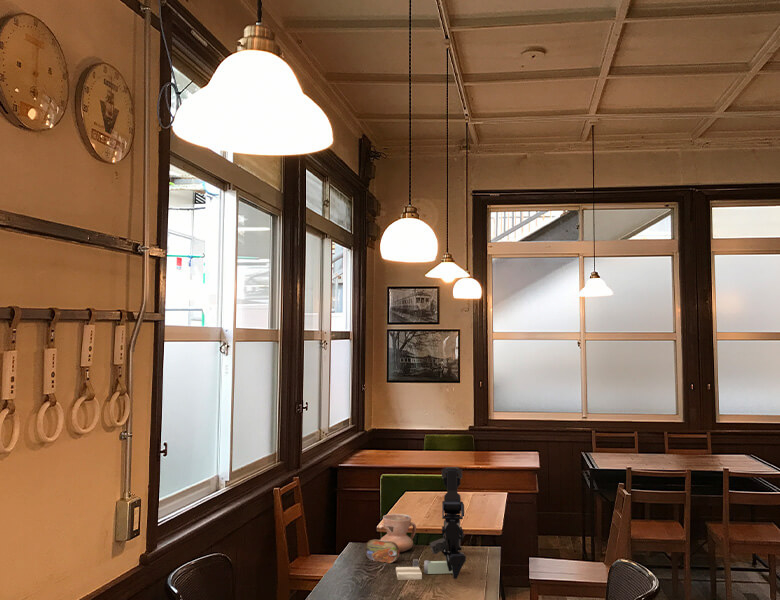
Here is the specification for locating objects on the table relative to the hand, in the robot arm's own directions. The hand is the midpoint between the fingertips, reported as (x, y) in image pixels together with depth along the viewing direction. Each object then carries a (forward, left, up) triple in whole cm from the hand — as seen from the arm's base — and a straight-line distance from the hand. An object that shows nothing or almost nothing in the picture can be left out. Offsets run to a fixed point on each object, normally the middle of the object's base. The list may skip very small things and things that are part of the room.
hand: (452, 574), depth 262 cm
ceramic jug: (-44, -16, -3) cm, 47 cm away
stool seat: (-8, -16, -2) cm, 18 cm away
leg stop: (-18, -12, -2) cm, 21 cm away
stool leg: (-10, -3, -2) cm, 10 cm away
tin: (-28, -24, -3) cm, 37 cm away
